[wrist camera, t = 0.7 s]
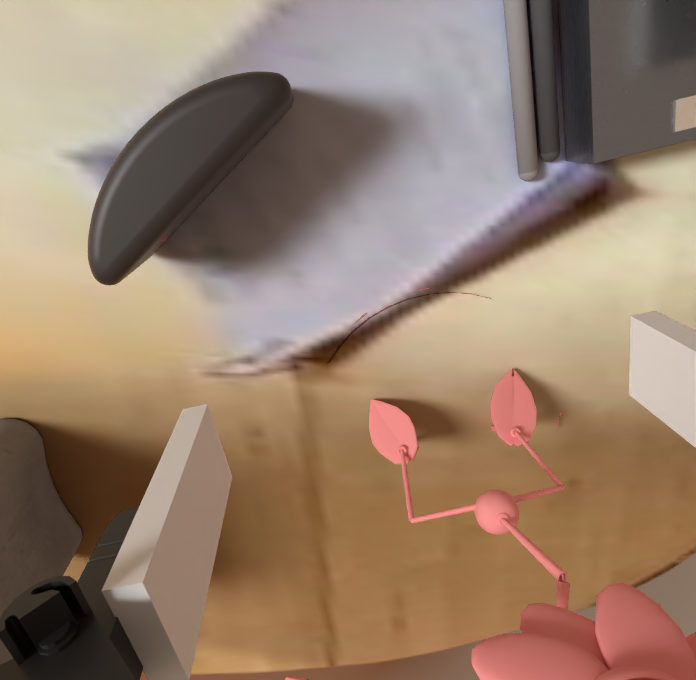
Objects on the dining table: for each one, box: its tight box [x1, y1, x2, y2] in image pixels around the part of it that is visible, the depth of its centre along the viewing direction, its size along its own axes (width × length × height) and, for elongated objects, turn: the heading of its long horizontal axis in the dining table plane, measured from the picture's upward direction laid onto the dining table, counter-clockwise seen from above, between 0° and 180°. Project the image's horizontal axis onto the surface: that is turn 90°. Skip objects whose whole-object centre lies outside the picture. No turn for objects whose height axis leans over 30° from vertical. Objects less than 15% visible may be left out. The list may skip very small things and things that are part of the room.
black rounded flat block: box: [88, 72, 293, 285], centre depth 32 cm, size 16×5×9 cm, turn 133°
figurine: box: [286, 288, 696, 680], centre depth 28 cm, size 15×26×35 cm, turn 98°
